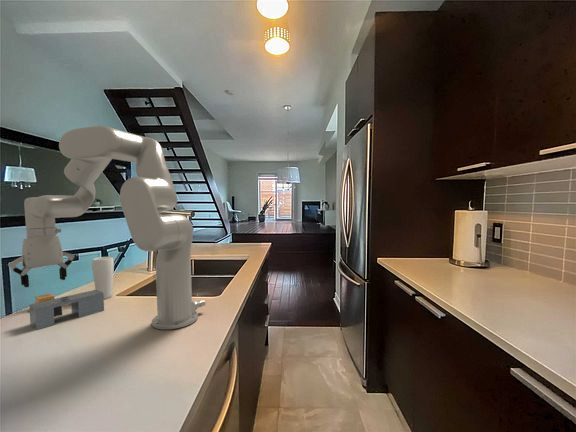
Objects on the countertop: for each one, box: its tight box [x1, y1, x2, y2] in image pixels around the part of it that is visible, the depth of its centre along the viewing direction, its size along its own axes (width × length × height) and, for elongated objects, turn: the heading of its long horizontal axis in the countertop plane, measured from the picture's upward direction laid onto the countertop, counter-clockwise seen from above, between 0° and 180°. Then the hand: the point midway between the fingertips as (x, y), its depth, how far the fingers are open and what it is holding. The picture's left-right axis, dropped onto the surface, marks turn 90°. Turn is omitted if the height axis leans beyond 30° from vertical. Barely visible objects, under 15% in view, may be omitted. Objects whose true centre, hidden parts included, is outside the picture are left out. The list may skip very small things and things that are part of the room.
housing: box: [28, 289, 105, 331], centre depth 86 cm, size 17×6×6 cm, turn 145°
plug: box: [34, 293, 63, 318], centre depth 92 cm, size 4×17×4 cm, turn 55°
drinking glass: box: [91, 256, 115, 300], centre depth 105 cm, size 7×7×15 cm
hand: (45, 283), depth 95 cm, fingers open, 9 cm apart
